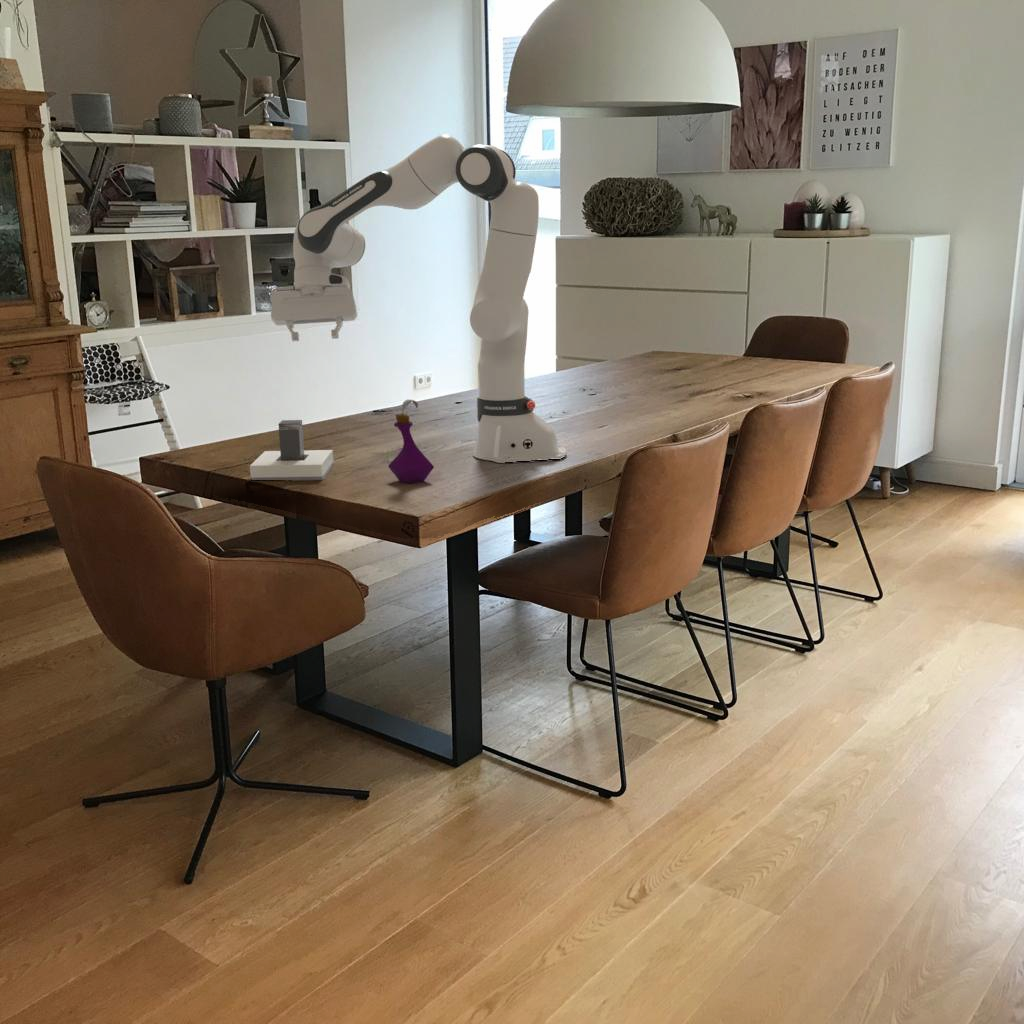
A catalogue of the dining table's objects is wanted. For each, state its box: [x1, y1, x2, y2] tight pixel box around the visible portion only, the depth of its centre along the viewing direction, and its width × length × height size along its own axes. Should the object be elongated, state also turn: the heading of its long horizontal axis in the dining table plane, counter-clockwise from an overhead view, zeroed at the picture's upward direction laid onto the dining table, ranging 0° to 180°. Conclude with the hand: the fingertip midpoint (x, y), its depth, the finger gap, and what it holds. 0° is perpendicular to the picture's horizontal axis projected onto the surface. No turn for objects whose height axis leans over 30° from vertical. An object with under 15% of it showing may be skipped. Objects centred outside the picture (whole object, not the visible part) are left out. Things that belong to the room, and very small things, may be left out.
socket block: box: [249, 449, 334, 482], centre depth 261 cm, size 16×16×4 cm
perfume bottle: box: [387, 399, 435, 484], centre depth 250 cm, size 8×8×18 cm
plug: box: [278, 419, 305, 461], centre depth 260 cm, size 4×4×11 cm
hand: (315, 339), depth 271 cm, fingers open, 8 cm apart
